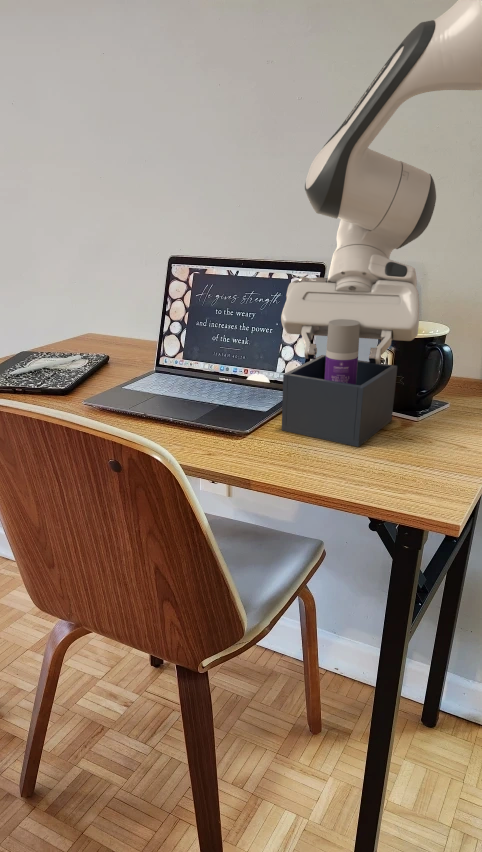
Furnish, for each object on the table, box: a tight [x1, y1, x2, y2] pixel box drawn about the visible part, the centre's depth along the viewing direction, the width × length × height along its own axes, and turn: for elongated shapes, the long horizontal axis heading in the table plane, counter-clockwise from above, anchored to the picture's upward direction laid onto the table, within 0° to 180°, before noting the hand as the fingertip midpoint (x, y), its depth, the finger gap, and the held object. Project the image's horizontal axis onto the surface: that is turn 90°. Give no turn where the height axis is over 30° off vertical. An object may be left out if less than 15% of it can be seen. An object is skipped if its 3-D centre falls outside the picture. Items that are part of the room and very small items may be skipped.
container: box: [325, 319, 360, 385], centre depth 102 cm, size 5×5×15 cm
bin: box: [281, 354, 398, 448], centre depth 104 cm, size 13×13×9 cm
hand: (341, 359), depth 101 cm, fingers open, 8 cm apart
